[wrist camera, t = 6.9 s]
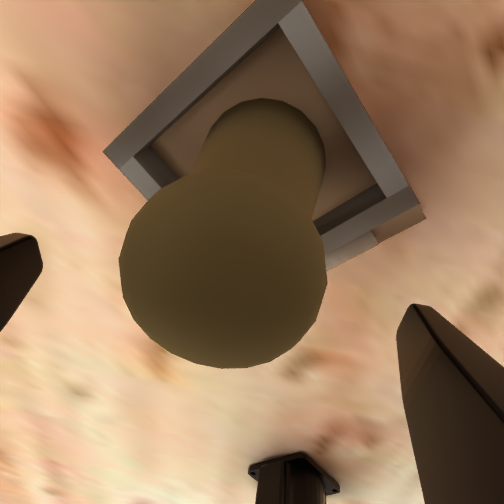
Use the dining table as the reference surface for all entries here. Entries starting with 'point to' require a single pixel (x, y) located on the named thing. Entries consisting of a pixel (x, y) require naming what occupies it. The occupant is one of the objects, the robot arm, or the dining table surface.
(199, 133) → the frame
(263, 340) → the olive tall rounded piece
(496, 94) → the dining table surface
